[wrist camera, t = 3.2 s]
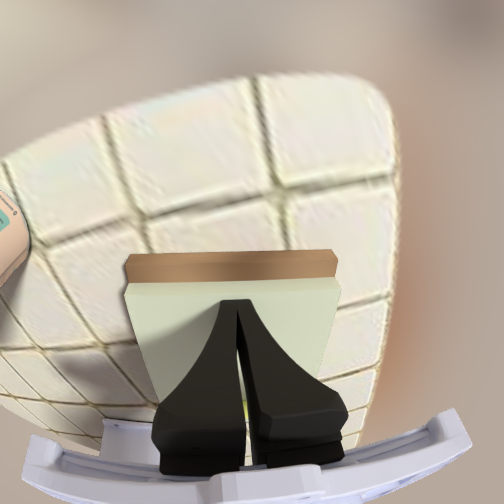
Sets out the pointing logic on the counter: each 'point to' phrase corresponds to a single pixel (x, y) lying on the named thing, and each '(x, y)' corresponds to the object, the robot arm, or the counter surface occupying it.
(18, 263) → the beer can
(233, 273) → the walnut base
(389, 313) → the counter surface
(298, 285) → the plate
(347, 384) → the counter surface
